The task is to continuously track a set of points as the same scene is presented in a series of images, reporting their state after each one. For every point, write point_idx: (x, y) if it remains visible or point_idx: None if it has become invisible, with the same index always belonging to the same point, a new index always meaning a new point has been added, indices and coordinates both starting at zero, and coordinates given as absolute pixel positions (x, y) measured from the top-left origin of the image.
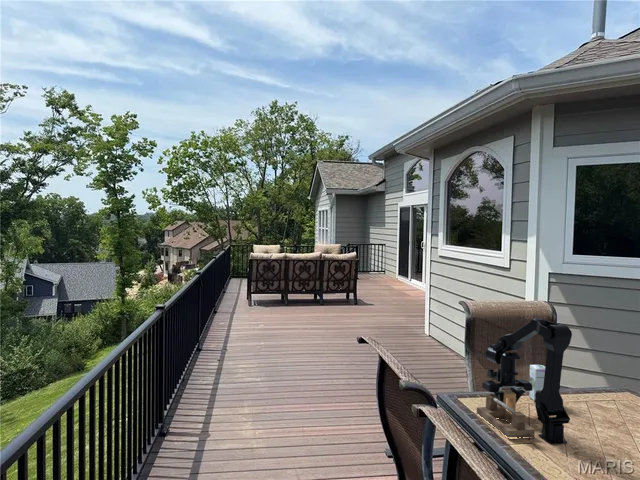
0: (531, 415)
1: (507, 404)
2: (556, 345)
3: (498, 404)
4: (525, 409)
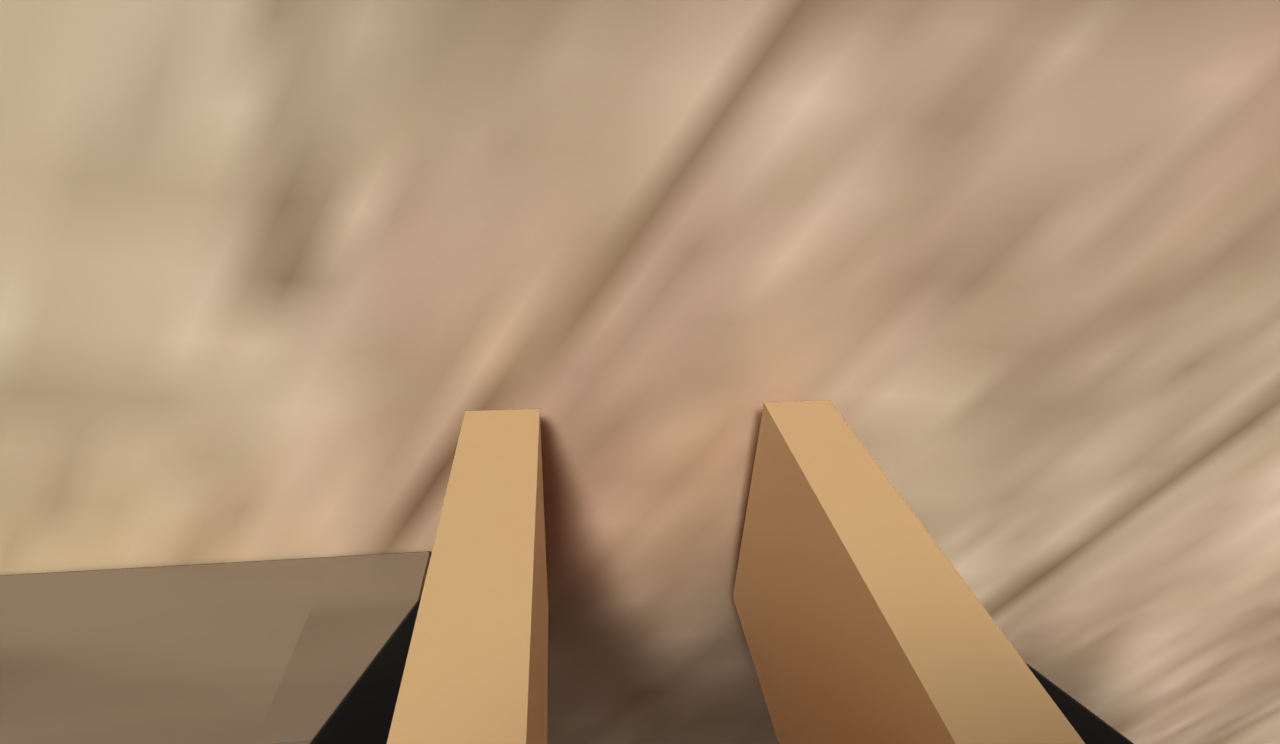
0: (1026, 617)
1: (805, 506)
2: None
3: (389, 655)
4: (1215, 388)
